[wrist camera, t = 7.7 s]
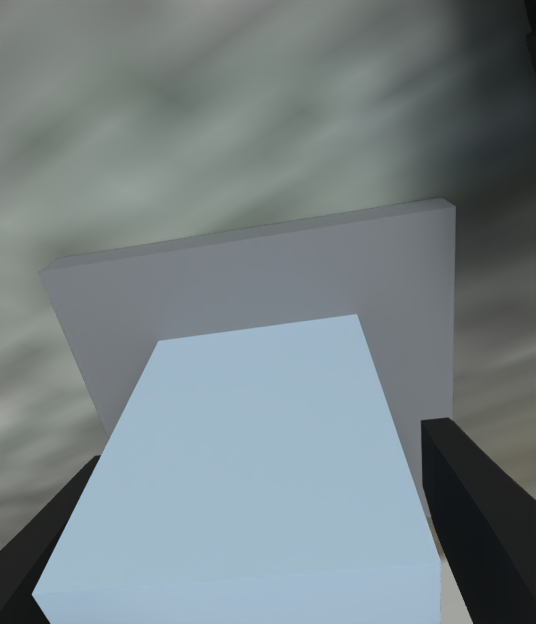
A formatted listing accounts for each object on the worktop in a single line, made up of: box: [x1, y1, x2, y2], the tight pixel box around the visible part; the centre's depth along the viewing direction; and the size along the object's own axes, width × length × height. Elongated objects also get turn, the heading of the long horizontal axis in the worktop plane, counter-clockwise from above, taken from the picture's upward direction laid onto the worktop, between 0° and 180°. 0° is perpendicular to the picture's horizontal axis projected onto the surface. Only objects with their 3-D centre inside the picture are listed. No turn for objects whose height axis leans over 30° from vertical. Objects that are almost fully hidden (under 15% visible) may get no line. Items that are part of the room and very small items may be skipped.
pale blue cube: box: [32, 314, 441, 624], centre depth 10 cm, size 5×5×7 cm
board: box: [38, 197, 456, 517], centre depth 13 cm, size 10×10×1 cm
